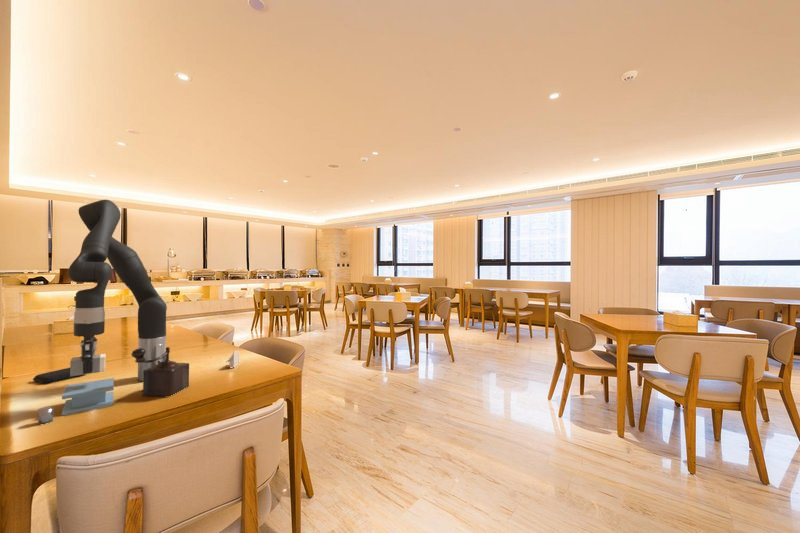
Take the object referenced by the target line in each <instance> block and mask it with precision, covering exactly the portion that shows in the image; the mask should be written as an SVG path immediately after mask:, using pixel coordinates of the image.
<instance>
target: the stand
mask: <svg viewBox="0 0 800 533" xmlns="http://www.w3.org/2000/svg"><path fill="white" fill-rule="evenodd" d="M114 381H115V380H114V377H112V378H111V377H110V378H104V379H99V380H97V379H96V380H92V381H86V382H79V383H74V384H68V385H66V386H65V388H64V390H63V393H62V395H61V400H65V402H64V405H63V408H62V411H61V416H66V415H72V414H76V413H77V414H78V413H81V412H86V411H92V410H96V409H101V408H106V407H111V406H114Z"/></svg>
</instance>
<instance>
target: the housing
mask: <svg viewBox="0 0 800 533" xmlns="http://www.w3.org/2000/svg"><path fill="white" fill-rule="evenodd" d="M106 355H107V354H106V353H99V354H94V355H93V359H94V360H93V364H92V372H91V373H87V374H86V375H90V374H98V373H103V372H105V370H106ZM87 357H90V355H85V358H87ZM69 363H70V364H69V365H70V367H69V368H70V376H77V375H82V376H85V375H84V373H83V362H82V355H81V356H74V357H71V359H70V362H69Z"/></svg>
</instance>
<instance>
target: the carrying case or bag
mask: <svg viewBox="0 0 800 533" xmlns="http://www.w3.org/2000/svg"><path fill="white" fill-rule="evenodd" d="M85 375H86V374H84V375H77V376H70V367H67V368H62V369H57V370H54V371H48V372H44V373H40V374H37V375H35V376H34V377H33V379H32V381H34V382H35V383H38V382H39V383H40V384H43V385H47V384H53V382H54V383H56V382H62V381H65V380H69V379H74V378H77V377H81V376H85Z"/></svg>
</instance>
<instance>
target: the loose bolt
mask: <svg viewBox="0 0 800 533" xmlns="http://www.w3.org/2000/svg"><path fill="white" fill-rule="evenodd" d="M37 414H38V415H37V420H38V423H37V424H38V425H39V424H43V425H47V424H46V423H48V424H50V422H51V423H53V421H54V406H46V407H43V408H40V409H38V412H37Z"/></svg>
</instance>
